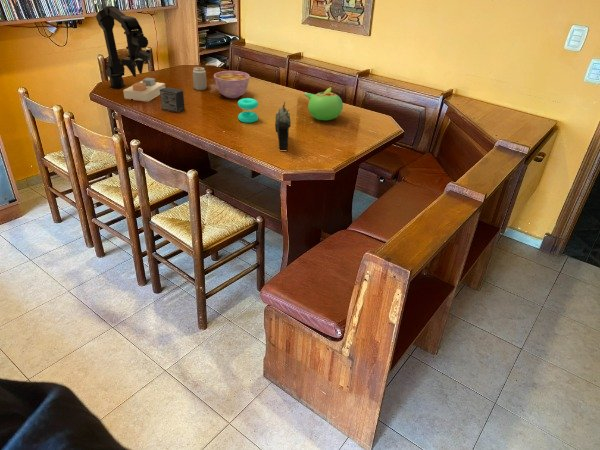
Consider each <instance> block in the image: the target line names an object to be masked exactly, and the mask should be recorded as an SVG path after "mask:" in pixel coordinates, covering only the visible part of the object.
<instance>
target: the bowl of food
mask: <svg viewBox="0 0 600 450" xmlns="http://www.w3.org/2000/svg"><path fill="white" fill-rule="evenodd" d="M250 76H251V75H250V74H249V73H247V72H244V71H239V70H224V71H218V72H215V73H214V74H213V78H214V81H215V86H216V89H217V91H218V92H219V93H220V94H221V95H222V96H224V97H226V98H229V99H237V98H240V97H241V96H243V95H244V94H246V92H247V90H248V85H249V81H250Z"/></svg>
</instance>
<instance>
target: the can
mask: <svg viewBox="0 0 600 450" xmlns="http://www.w3.org/2000/svg"><path fill="white" fill-rule="evenodd" d="M192 80H193V81H192V82H193V89H194V90H196V91H204V90H206V89H207V88H208V87H207V71H206V70H205V67H202V66H197V67H196V66H195V67H193V70H192Z"/></svg>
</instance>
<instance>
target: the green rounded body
mask: <svg viewBox="0 0 600 450" xmlns="http://www.w3.org/2000/svg"><path fill="white" fill-rule="evenodd" d="M303 95H304V96H305V97H306V98H307V99H309V100H308V104H307V110H308V112H309V114H310V116H312V117H313V118H314V119H316V120H319V121H331V120H334V119H337V117H339V116H340V115H341V113H342V111H343V108H344V105H343V103H344V102H343V100H342V98H341V97H340V96H339V95H338V94H336V93H334V92H332V87H331V86H330V87H328V88H327V89H326V90H325V91H321V92H317V93H316V94H315V93H311V92H310V93H309V92H304V93H303Z"/></svg>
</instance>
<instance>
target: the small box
mask: <svg viewBox="0 0 600 450" xmlns="http://www.w3.org/2000/svg"><path fill="white" fill-rule="evenodd" d="M159 96H160V104H161V105H160V106H161V110H163V111H167V112H171V113H176V114H178V113H181V112H183V111H185V110H186V109H185V100H184V99H185V97H184V96H185V95H184V90H183V89H179V88H174V87H168V86H167V87H166V86H165V88H163V89H160V95H159Z"/></svg>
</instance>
